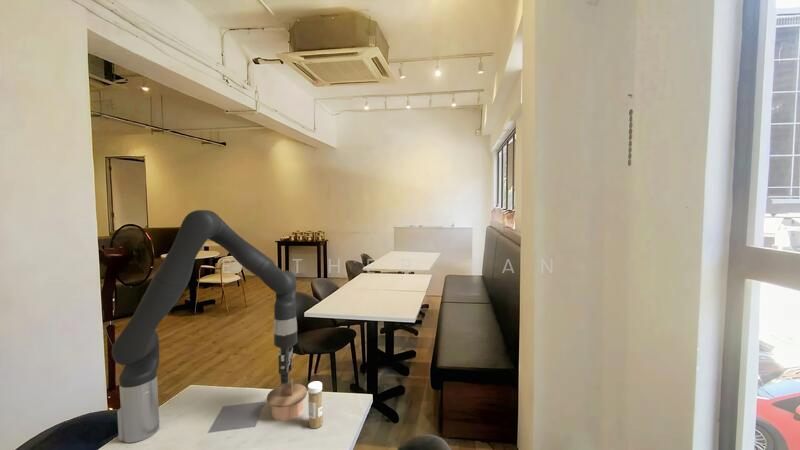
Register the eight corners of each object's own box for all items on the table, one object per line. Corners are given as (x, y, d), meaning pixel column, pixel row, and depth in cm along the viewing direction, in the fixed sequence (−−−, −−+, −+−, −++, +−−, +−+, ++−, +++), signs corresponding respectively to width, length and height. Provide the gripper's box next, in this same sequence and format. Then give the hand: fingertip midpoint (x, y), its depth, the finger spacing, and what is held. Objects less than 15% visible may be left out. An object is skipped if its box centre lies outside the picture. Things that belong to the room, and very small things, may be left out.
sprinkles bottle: (325, 425, 106) (324, 385, 105) (311, 431, 103) (310, 389, 103) (320, 418, 110) (319, 379, 109) (306, 423, 107) (305, 383, 106)
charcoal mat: (207, 434, 102) (207, 432, 102) (223, 407, 116) (223, 406, 116) (255, 428, 105) (255, 426, 105) (264, 403, 119) (264, 401, 119)
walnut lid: (263, 409, 105) (262, 393, 105) (271, 387, 118) (270, 373, 118) (305, 404, 108) (304, 388, 107) (308, 383, 120) (308, 369, 120)
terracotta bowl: (269, 424, 107) (268, 406, 107) (275, 406, 117) (274, 389, 117) (301, 420, 109) (300, 402, 109) (304, 402, 119) (303, 386, 118)
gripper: (277, 323, 118) (278, 367, 119) (269, 339, 104) (270, 388, 105) (299, 322, 119) (300, 366, 120) (294, 337, 105) (295, 386, 106)
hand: (286, 376), depth 112 cm, fingers open, 8 cm apart
